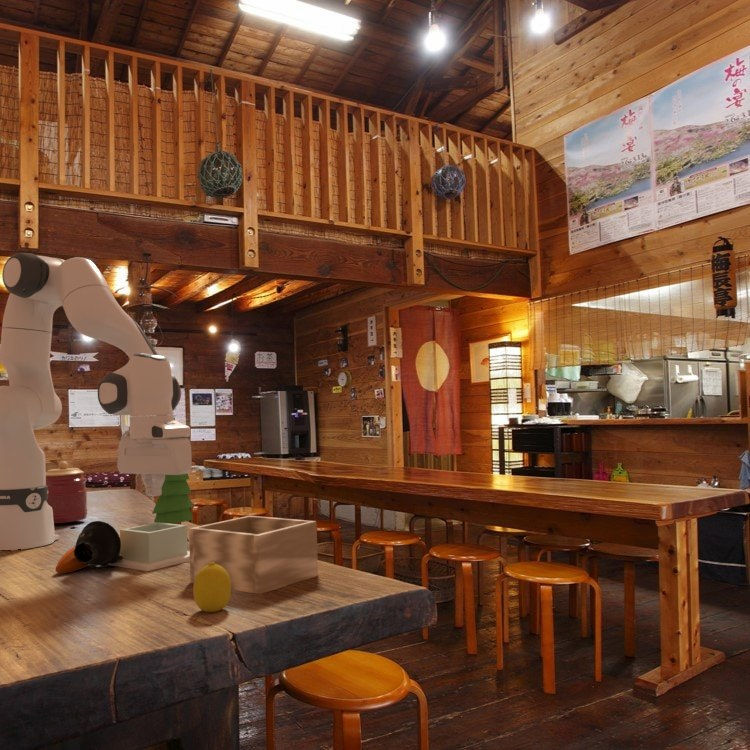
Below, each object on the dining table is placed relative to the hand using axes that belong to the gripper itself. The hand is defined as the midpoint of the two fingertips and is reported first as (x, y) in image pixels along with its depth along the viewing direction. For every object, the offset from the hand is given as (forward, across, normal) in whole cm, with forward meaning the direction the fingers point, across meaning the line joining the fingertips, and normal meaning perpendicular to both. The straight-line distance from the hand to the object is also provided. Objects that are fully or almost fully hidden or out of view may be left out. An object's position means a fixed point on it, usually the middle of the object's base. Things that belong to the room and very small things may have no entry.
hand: (153, 495), depth 140 cm
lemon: (+14, +40, -20) cm, 47 cm away
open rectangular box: (+14, 0, 0) cm, 14 cm away
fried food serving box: (+14, +31, -2) cm, 34 cm away
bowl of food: (+10, -1, -16) cm, 19 cm away
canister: (+14, -74, +24) cm, 79 cm away
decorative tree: (+14, -14, +16) cm, 25 cm away
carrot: (+12, -6, -18) cm, 23 cm away
